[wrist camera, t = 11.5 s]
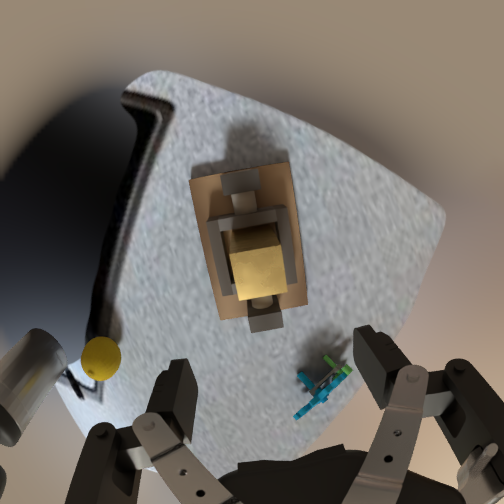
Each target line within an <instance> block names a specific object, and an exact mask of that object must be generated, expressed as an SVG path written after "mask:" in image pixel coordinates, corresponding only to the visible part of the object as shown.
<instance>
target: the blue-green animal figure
mask: <svg viewBox="0 0 504 504" xmlns="http://www.w3.org/2000/svg"><path fill="white" fill-rule="evenodd" d="M323 359H324V360H325V361H326V362H327V363H328V364H329V365H330V366H331V367H332V368H333V370H332V371H331V372H330V373H328V374H327V375H326V376H325V377H324V378H323V379H322V380H321V381H320V382H319V383H318V384H317V385H316V386H315V385H314V384H313V383H312V381H311V380H310V379H309V378H308V377H307V376H306V375H305V374H304V373H303V372H300V373H299V374H298V375H297V377H298V378H299V379H300V380H301V381H302V382H303V383H304V384H305V385H306V386H307V387H308V388H309V389H310V391H309V392H310V394H311V395H312V396H313V397H314V398H313V399H312V400H311V401H309V403H308V404H307V405H306V406H304V407H303V408H301V409H300V410H299V411H298V412H297V413H296V414H295V415H294V416H293V417H294V418H295V419H296V420H298V419H299V418H301V417H302V416H303V415H305V414H306V413H307V412H308V411H309V410H311V409H312V408H313V407H314V406H316V405H317V404H319V403H320V402H322V403H324V402H325V401H327V400H328V398H327V396H328V395H329V393H330V392H331V391H332V390H333V389H334V388H336V387H337V386H338V385H339V384H340V383H341V382H342V381H343V380H344V379H345V378H346V377H347V376H348V375H349V374H350V373H351V372H352V371H353V370H352V369H351V368H350V367H349V366H348V365H347V364H346V365H345V366H344V367H343V368H342V366H341V365H340V364H338V365H336V364H335V363H334V362H333V361H332V360H331V359H330V358H329V357H328V356H327V355H325V356H324V357H323ZM341 368H342V369H341ZM343 371H344V372H343ZM341 373H342V374H341ZM332 374H334V375H335V374H337V375H335V376H334V377H333V378H332V379H333V380H334V381H333V382H332V383H331V384H329V385H328V386H327V387H325V388H324V389H323V390H322V389H321V388H320V387H319V386H321V385H322V384H323V383H324V382H325V381H326V380H327V379H328V378H329V377H330V376H331V375H332ZM340 374H341V375H340Z"/></svg>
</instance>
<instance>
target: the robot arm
mask: <svg viewBox="0 0 504 504" xmlns="http://www.w3.org/2000/svg"><path fill="white" fill-rule="evenodd" d="M353 357H354V361H355V364H356V366H357V368H358V370H359V372H360V373H361V375H362V377H363V379H364V381H365V382H366V384H367V386H368V388H369V390H370V391H371V393H372V395H373V397H374V399H375V401H376V402H377V404H378V406H379V408H380V410H382V409H384V408H386V409H385V411H384V414H383V417H382V420H381V422H380V425H379V428H378V430H377V433H376V435H375V438H374V440H373V442H372V445H371V447H370V449H369V452H365V451H361V450H345V448H344V445H343V444H340V445H336V446H332V447H328V448H324V449H320V450H317V451H314V452H312V453H310V454H308V455H305V456H303V457H301V458H298V459H296V460H293V461H273V460H259V461H251V462H241V463H238V470H235V471H232V472H230V473H227V474H225V475H224V476H222V477H220V478H219V479H216V478H215V477H214V476H213V475H212V474H211V473H210V472H209V471H208V470H207V469H206V468H205V467H204V466H203V465H202V463H201V462H200V461H199V460H198V459H197V458H196V457H195V456H194V454H193V453H192V452H191V451H190V450H189V449H188V448H187V446H186V445H185V444H191V440H192V433H193V425H194V418H195V411H196V404H197V397H198V386H197V382H196V379H195V376H194V374H193V371H192V369H191V366H190V363H189V361H188V359H187V358H185V359H175V360H171V362H170V366H169V369H168V370H164V371H162V372H161V374H160V375H159V376H158V377H157V379H156V382H155V386H154V388H153V393H152V394H151V397H150V400H149V403H148V406H147V409H146V412H145V413H144V414H142V415H140V416H138V417H137V418H136V419H135V420H134V422H133V424H132V426H128V427H124V428H119V429H116V428H115V427H114V426H113V425H112V424H111V423H108V422H102V423H98V424H96V425H95V426H93V427H92V428H91V429H90V431H89V433H88V436H87V438H86V441H85V444H84V447H83V449H82V452H81V455H80V458H79V461H78V463H77V466H76V469H75V472H74V475H73V478H72V481H71V484H70V488H69V491H68V494H67V497H66V501H65V504H137V498H138V491H139V485H140V479H141V473H142V469H144V468H149V467H153V466H154V467H155V468H156V470H157V471H158V473H159V474H160V476H161V477H162V478H163V480H164V481H165V483H166V484H167V486H168V487H169V488H170V490H171V491H172V492H173V494H174V495H175V496H176V498H177V499H178V500H179V501H180V503H181V504H495V503H497V502H498V501H499V500H500V499H501V498H503V497H504V402H503V401H502V400H501V398H500V397H499V396H498V395H497V394H496V392H495V391H494V390H493V389H492V388H491V386H490V385H489V384H488V383H487V382H486V380H485V379H484V378H483V377H482V376H481V375H480V373H479V372H478V371H477V370H476V369H475V368H474V367H473V365H472V364H471V363H470V362H469V361H467V360H464V359H453V360H451V361H449V362H448V363H447V364H446V366H445V370H440V371H434V372H428V371H427V370H426V369H425V368H423V367H422V366H419V365H412V364H411V362H410V361H409V360H408V359H407V357H406V356H405V355H404V354H403V352H402V351H401V350H400V349H399V348H398V346H397V345H396V344H395V343H394V341H393V340H392V339H391V338H390V337H389V336H388V335H386V334H385V333H383V332H377V333H376V332H375V331H374V330H373V328H372V327H371V326H370V325H365V326H361V327H358V328H354V332H353ZM66 368H67V357H66V354H65V352H64V350H63V348H62V347H61V345H60V344H59V343H58V341H57V340H56V339H55V338H54V337H53V336H52V335H50V334H49V333H48V332H46V331H44V330H42V329H37V328H35V329H32V330H30V331H29V332H28V333H27V334H26V335H25V336H24V337H23V338H22V339H21V340H20V341H19V342H18V343H17V344H16V345H15V346H14V347H13V348H12V349H11V350H10V351H9V352H8V353H7V354H6V355H5V356H4V357H3V358H2V359H1V360H0V444H2V445H4V446H8V447H12V446H14V445H16V443H17V442H18V440H19V438H20V437H21V435H22V434H23V432H24V430H25V429H26V427H27V426H28V424H29V422H30V421H31V419H32V418H33V416H34V414H35V413H36V411H37V410H38V408H39V407H40V405H41V404H42V402H43V401H44V399H45V398H46V396H47V395H48V393H49V392H50V390H51V389H52V388H53V386H54V385H55V383H56V382H57V381H58V379H59V378H60V376H61V375H62V373H63V372H64V371H65V369H66ZM431 416H434V418H435V419H436V421H437V423H438V425H439V426H440V428H441V430H442V432H443V434H444V435H445V437H446V439H447V441H448V443H449V444H450V446H451V448H452V450H453V452H454V454H455V455H456V457H457V459H458V461H459V463H460V465H461V467H460V469H459V470H458V473H457V481H458V490H457V489H455V488H454V487H451V486H449V485H446V484H443V483H440V482H438V481H435V480H432V479H429V478H427V477H424V476H422V475H419V474H417V473H414V472H412V471H410V470H408V466H409V464H410V460H411V457H412V454H413V450H414V447H415V444H416V440H417V436H418V432H419V428H420V424H421V420H422V418H425V417H431ZM5 485H6V473H5V471H4V469H3V468H2V467H1V466H0V499H1V497H2V494H3V491H4V488H5Z"/></svg>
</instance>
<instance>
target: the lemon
mask: <svg viewBox="0 0 504 504" xmlns="http://www.w3.org/2000/svg"><path fill="white" fill-rule="evenodd" d="M120 363H121V352H120V349H119V347H118V345H117V344H116V343H115V342H114V341H113V340H112V339H110V338H107V337H96V338H94V339H92V340H90V341H89V342H88V343H87V345H86V346H85V347H84V350H83V352H82V355H81V365H82V368H83V370H84V372H85V373H86V374H87V375H88V376H89V377H90V378H92V379H94V380H98V381H103V380H107V379H109V378H110V377H112V376H113V375H114V374H115V373H116V371H117V370H118V368H119V366H120Z"/></svg>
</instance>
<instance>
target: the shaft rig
mask: <svg viewBox="0 0 504 504" xmlns="http://www.w3.org/2000/svg"><path fill="white" fill-rule="evenodd" d="M189 185H190V190H191V195H192V200H193V205H194V210H195V214H196V219H197V224H198V228H199V233H200V237H201V242H202V246H203V251H204V255H205V259H206V264H207V268H208V272H209V276H210V281H211V285H212V289H213V293H214V297H215V301H216V305H217V309H218V313H219V317H220V320H225V319H232V318H238V317H244V316H248V321H249V325H250V330H251V333H255V332H261V331H266V330H272V329H277V328H282V327H284V326H283V319H282V312H281V310H283V309H288V308H293V307H298V306H303V305H308V299H307V290H306V281H305V272H304V264H303V256H302V248H301V240H300V233H299V225H298V218H297V211H296V205H295V198H294V191H293V185H292V179H291V173H290V166H289V162H284V163H277V164H270V165H264V166H258V167H252V168H246V169H241V170H235V171H230V172H224V173H219V174H214V175H209V176H204V177H200V178H195V179H190V180H189ZM267 224H269V225H270V226H271V228H272V230H273V232H274V233H275V235H276V237H277V239H278V241H279V242H280V244H281V249H282V255H283V262H284V269H285V276H286V283H287V290H288V292H285V293H280V294H275V295H269V296H264V297H258V298H252V299H247V300H241V301H239V298H238V293H237V289H236V284H235V279H234V275H233V270H232V265H231V260H230V255H229V252H230V243H231V233H232V231H234V230H239V229H245V228H250V227H256V226H261V225H267Z"/></svg>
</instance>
